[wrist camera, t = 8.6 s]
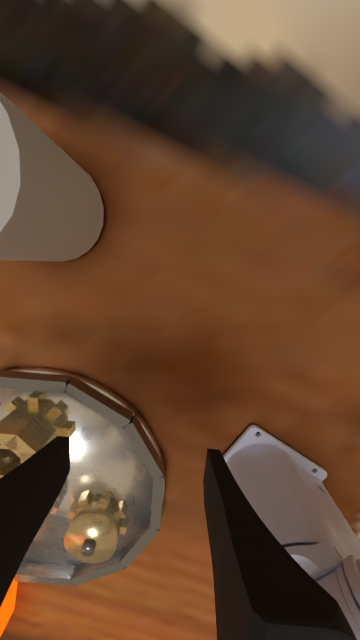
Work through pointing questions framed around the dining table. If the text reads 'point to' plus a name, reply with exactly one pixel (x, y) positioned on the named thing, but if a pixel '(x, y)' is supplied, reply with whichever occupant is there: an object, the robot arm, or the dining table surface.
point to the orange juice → (8, 606)
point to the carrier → (92, 481)
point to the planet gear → (30, 428)
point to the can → (42, 195)
